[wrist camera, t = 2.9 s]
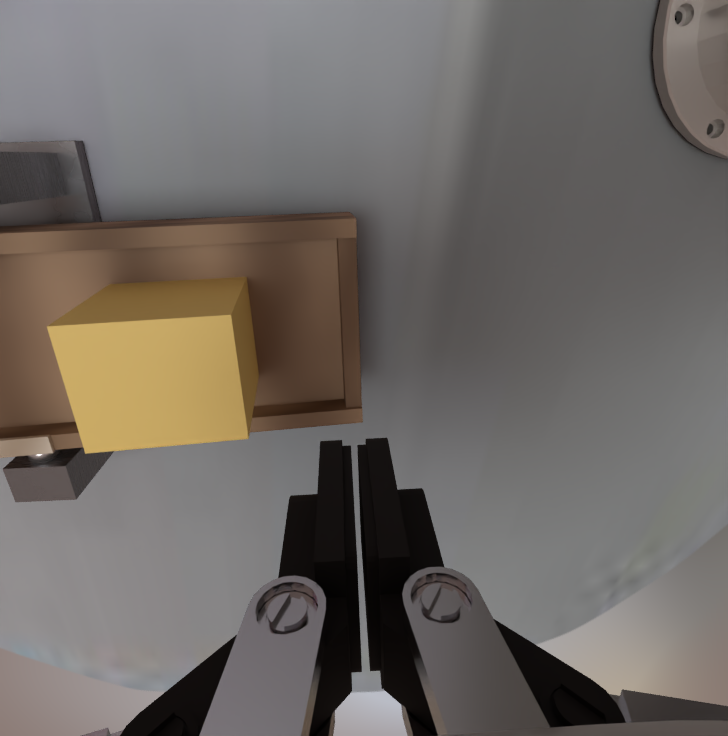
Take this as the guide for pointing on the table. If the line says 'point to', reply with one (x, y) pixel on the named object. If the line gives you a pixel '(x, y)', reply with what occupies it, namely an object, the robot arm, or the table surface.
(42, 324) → the beam
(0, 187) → the stand
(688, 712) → the robot arm
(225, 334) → the block
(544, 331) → the table surface
